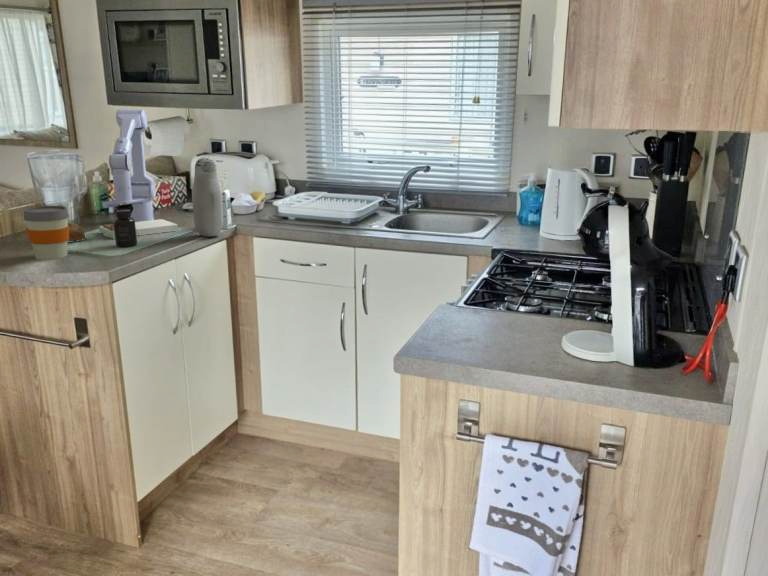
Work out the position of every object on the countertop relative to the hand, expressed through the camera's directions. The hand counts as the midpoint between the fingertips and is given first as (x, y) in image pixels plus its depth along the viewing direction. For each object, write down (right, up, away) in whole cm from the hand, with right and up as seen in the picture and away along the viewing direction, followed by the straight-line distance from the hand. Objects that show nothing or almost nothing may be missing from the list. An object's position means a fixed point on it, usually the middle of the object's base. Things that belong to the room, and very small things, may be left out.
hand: (126, 226), depth 241 cm
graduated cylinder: (+31, +1, +17) cm, 35 cm away
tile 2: (-2, -2, -1) cm, 4 cm away
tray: (-4, -3, +3) cm, 6 cm away
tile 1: (-7, +1, +4) cm, 8 cm away
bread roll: (-17, -6, -7) cm, 19 cm away
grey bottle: (+29, -4, +2) cm, 30 cm away
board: (+5, -1, +10) cm, 12 cm away
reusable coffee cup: (-12, -13, -30) cm, 35 cm away
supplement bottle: (+6, -8, -14) cm, 17 cm away
